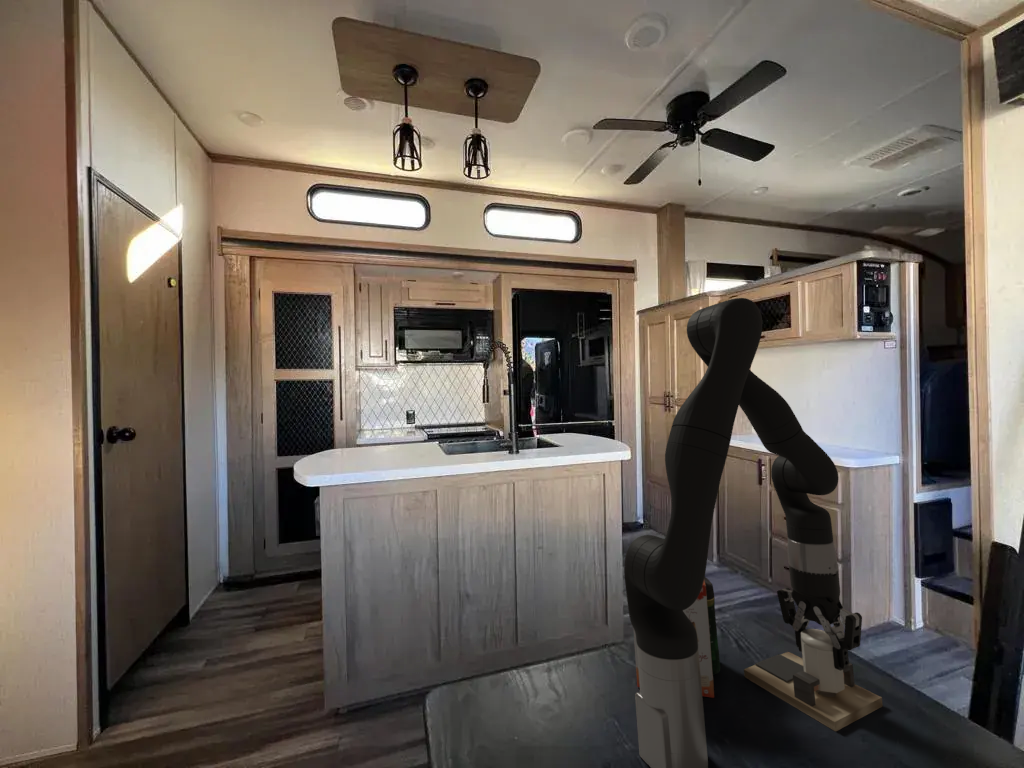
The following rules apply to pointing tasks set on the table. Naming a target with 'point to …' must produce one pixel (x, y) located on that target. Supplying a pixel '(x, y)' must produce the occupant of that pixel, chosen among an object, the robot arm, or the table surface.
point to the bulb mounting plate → (819, 695)
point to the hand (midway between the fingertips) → (822, 659)
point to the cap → (821, 660)
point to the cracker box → (701, 623)
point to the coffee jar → (712, 627)
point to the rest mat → (780, 667)
